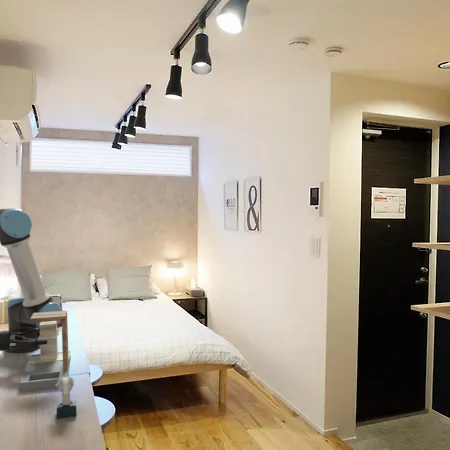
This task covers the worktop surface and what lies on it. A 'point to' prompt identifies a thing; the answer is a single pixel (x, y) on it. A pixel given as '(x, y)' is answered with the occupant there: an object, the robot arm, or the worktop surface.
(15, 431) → the worktop surface
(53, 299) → the candy bar box
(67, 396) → the watch
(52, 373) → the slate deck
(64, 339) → the walnut tunnel
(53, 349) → the cream block
